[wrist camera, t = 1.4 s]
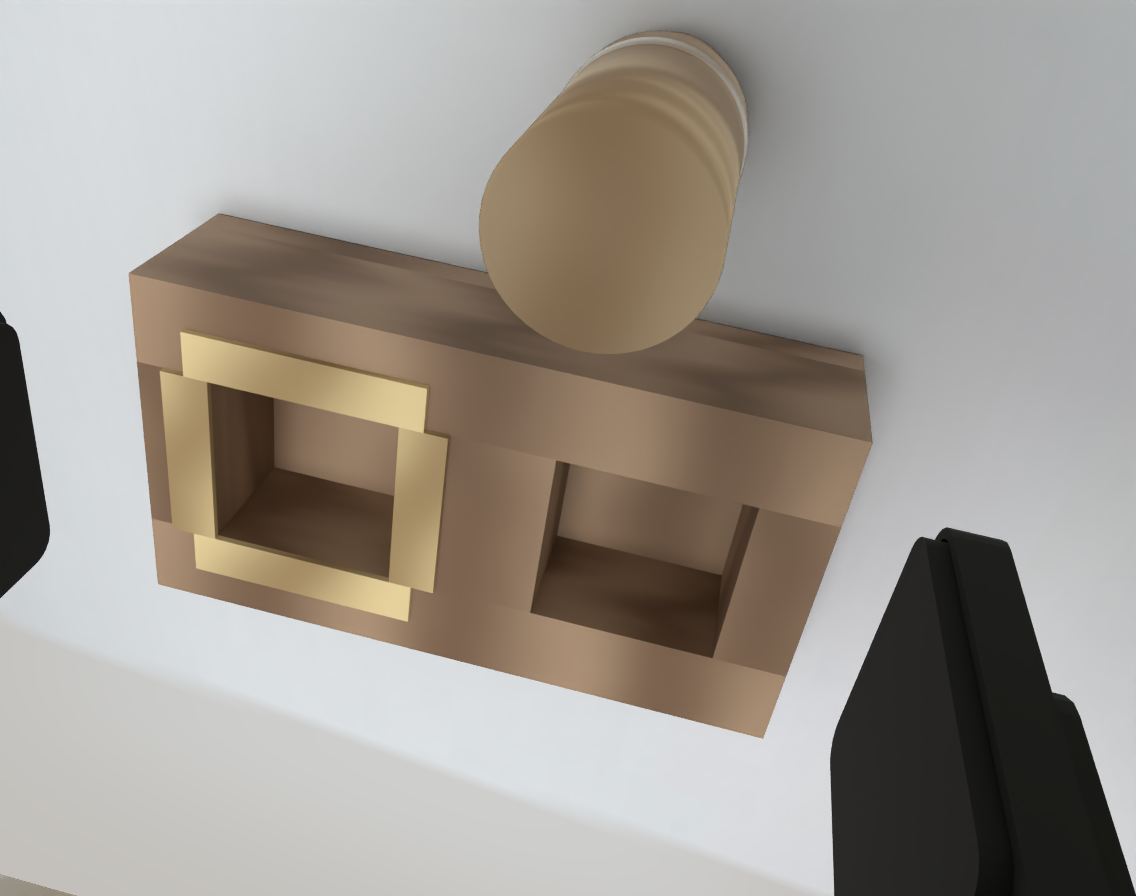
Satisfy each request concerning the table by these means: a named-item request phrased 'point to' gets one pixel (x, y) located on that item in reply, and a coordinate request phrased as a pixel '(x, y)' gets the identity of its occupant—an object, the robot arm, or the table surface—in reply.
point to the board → (489, 471)
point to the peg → (620, 197)
